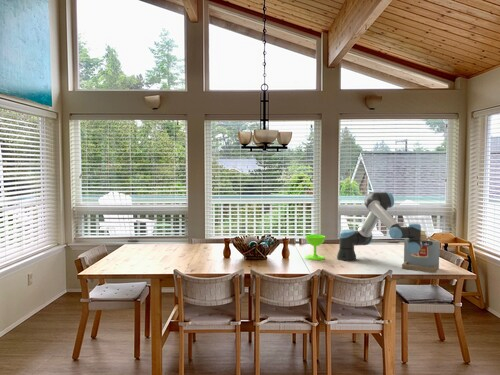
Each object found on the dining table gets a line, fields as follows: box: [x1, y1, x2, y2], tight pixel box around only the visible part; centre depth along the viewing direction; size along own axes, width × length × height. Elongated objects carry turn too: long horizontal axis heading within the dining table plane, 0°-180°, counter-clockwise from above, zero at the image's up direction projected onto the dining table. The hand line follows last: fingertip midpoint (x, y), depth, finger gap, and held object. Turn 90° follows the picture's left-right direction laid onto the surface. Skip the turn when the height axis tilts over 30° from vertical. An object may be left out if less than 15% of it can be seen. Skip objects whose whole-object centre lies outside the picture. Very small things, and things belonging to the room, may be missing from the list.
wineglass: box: [304, 234, 326, 261], centre depth 317 cm, size 16×16×18 cm
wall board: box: [401, 238, 441, 273], centre depth 284 cm, size 24×15×20 cm, turn 59°
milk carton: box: [411, 230, 428, 257], centre depth 285 cm, size 9×9×20 cm
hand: (421, 240), depth 288 cm, fingers closed on milk carton, 9 cm apart
